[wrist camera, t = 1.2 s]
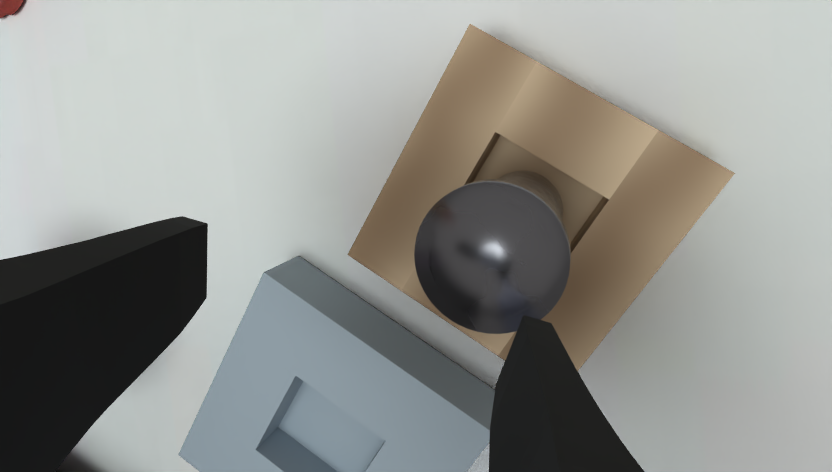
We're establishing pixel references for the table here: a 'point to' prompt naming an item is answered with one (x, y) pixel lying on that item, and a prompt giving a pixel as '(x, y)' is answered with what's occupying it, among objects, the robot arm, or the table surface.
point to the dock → (334, 389)
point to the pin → (495, 252)
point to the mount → (558, 162)
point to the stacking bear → (9, 7)
